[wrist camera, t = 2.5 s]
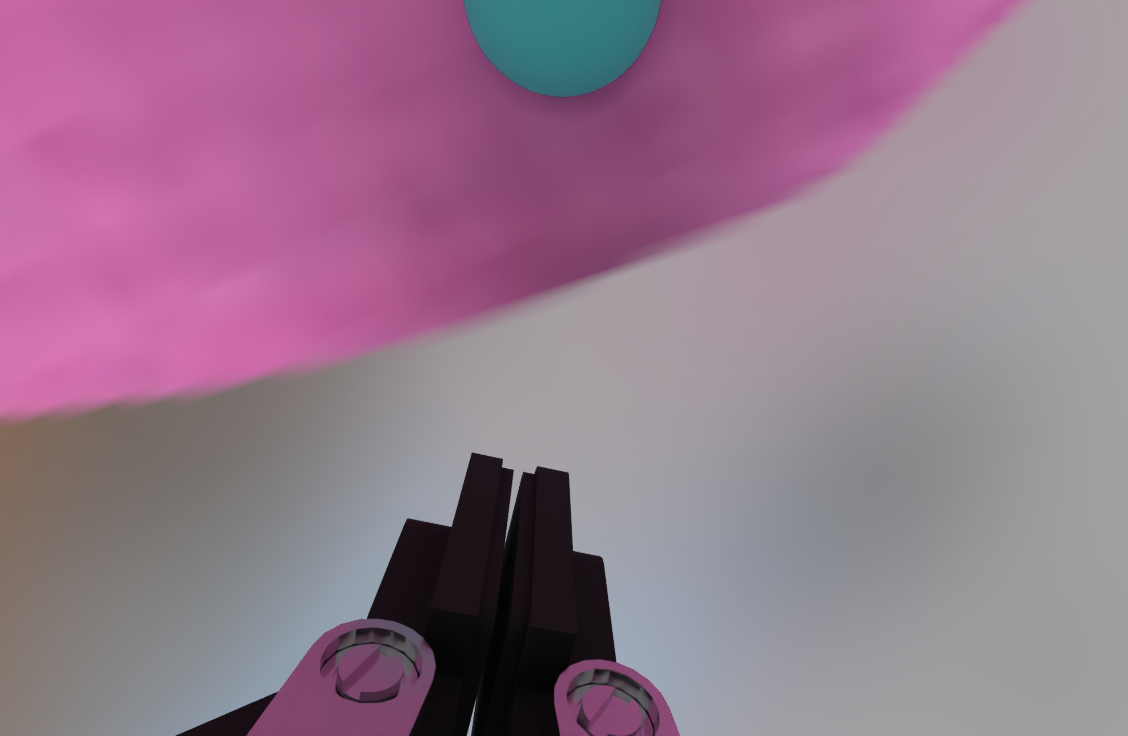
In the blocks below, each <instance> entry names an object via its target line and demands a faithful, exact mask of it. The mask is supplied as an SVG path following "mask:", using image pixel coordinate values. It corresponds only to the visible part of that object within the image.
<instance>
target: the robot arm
mask: <svg viewBox="0 0 1128 736" xmlns="http://www.w3.org/2000/svg"><path fill="white" fill-rule="evenodd" d="M502 463H503V459H500V458H495V457H491V456H486V455H481V454H476V453H472V454H471V458H470V461H469V465H468V469H467V472H466V476H465V480H464V484H463V487H462V491H461V495H460V498H459V502H458V506H457V509H456V513H455V517H454V520H453V524H452V527H449V526H444V525H439V524H434V523H429V522H423V521H419V520H414V519H407V520H406V522H405V525H404V527H403V530H402V532H401V534H400V537H399V539H398V542H397V544H396V547H395V549H394V552H393V554H392V557H391V559H390V562H389V564H388V567H387V569H386V572H385V574H384V577H383V579H382V582H381V584H380V587H379V589H378V592H377V594H376V597H375V599H374V602H373V604H372V607H371V609H370V612H369V614H368V617H367V619H360V620H355V621H351V622H347V623H344V624H340V625H339V626H337V627H335V628H333V629H331V630H329V631H327V632H325V633H324V634H323V635H322V636H321V637H320V638H319V639H318V640H317V641H316V642H315V643H314V644H313V645H312V647H311V648H310V649H309V651H308V652H307V653H306V655H305V656H304V657H303V659H302V660H301V661H300V663H299V665H298V666H297V667H296V668H295V670H294V671H293V672H292V674H291V675H290V677H289V678H288V679H287V681H286V682H285V683H284V685H283V686H282V688H281V689H280V690H279V691H278V692H276V693H273V694H271V695H269V696H267V697H264V698H262V699H260V700H257V701H255V702H253V703H250V704H248V705H246V706H243V707H241V708H239V709H237V710H234V711H232V712H229V713H227V714H225V715H222V716H220V717H218V718H216V719H213V720H211V721H209V722H206V723H204V724H202V725H199V726H197V727H195V728H193V729H190V730H188V731H185V732H183V733H181V734H178V735H176V736H467V732H468V729H469V725H470V721H471V717H472V713H473V708H474V704H475V700H476V704H475V712H474V718H473V726H472V733H471V736H680V734H679V732H678V730H677V727H676V724H675V721H674V719H673V716H672V713H671V711H670V708H669V706H668V705H667V703H666V701H665V699H664V697H663V696H662V694H661V693H660V692H659V691H658V689H657V688H656V687H655V686H654V685H653V684H652V683H651V682H650V681H649V680H648V679H646V678H645V677H644V676H642V675H641V674H639V673H638V672H636V671H635V670H633V669H631V668H629V667H626V666H624V665H621V664H619V663H616V655H615V648H614V640H613V632H612V624H611V617H610V608H609V601H608V593H607V585H606V577H605V569H604V562H603V559H602V557H600V556H596V555H591V554H585V553H580V552H575V551H573V543H572V525H571V505H570V487H569V474H568V472H563V471H558V470H553V469H548V468H544V467H539V466H537V468H536V471H535V474H531V473H526V472H523V475H522V478H521V482H520V486H519V490H518V494H517V498H516V502H515V506H514V510H513V514H512V519H511V523H510V527H509V531H508V535H507V539H506V543H505V537H506V529H507V521H508V513H509V504H510V496H511V488H512V480H513V472H514V470H512V469H507V468H502ZM504 546H505V547H504Z"/></svg>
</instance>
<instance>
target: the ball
mask: <svg viewBox="0 0 1128 736" xmlns="http://www.w3.org/2000/svg"><path fill="white" fill-rule="evenodd" d="M660 4H661V0H464V6H465V10H466V14H467V18H468V22H469V24H470V27H471V30H472V32H473V35H474V37H475V39H476V41H477V43H478V45H479V47H480V48H481V50H482V51H483V53H484V54H485V56H486V57H487V58H488V60H489V61H490V62H491V63H492V64H493V65H494V66H495V68H496V69H497V70H499V71H500V72H501V73H502V74H503V75H504V76H505V77H507V78H508V79H509V80H511V81H512V82H514V83H515V84H517V85H519V86H521V87H523V88H525V89H527V90H529V91H532V92H535V93H538V94H542V95H547V96H553V97H570V96H578V95H583V94H587V93H590V92H593V91H595V90H598V89H600V88H602V87H604V86H606V85H608V84H609V83H611V82H613V81H614V80H615V79H617V78H618V77H619V76H621V75H622V74H623V73H624V72H625V71H626V70H627V69H628V68H629V67H630V66H631V65H632V64H633V63H634V61H635V60H636V59H637V58H638V56H639V55H640V54H641V52H642V50H643V49H644V47H645V45H646V44H647V42H648V40H649V38H650V35H651V33H652V31H653V29H654V26H655V23H656V20H657V17H658V14H659V9H660Z"/></svg>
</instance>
